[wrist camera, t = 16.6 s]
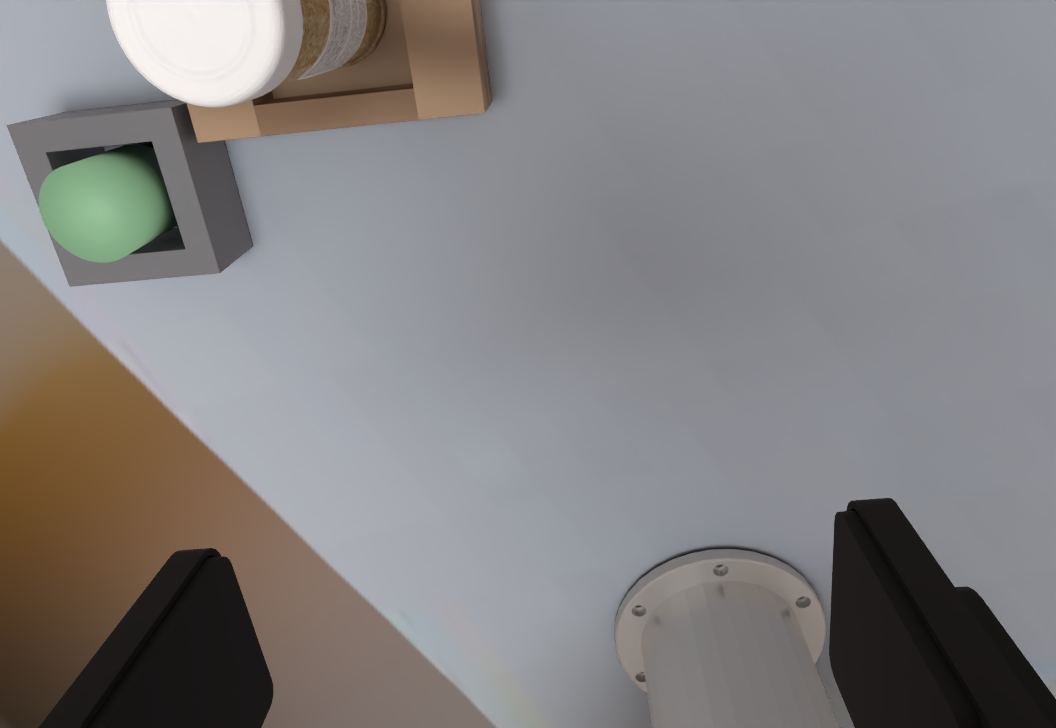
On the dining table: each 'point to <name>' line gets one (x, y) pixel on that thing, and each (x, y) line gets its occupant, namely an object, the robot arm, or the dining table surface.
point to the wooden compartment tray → (375, 79)
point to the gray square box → (189, 174)
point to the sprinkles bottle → (241, 43)
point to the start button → (107, 203)
